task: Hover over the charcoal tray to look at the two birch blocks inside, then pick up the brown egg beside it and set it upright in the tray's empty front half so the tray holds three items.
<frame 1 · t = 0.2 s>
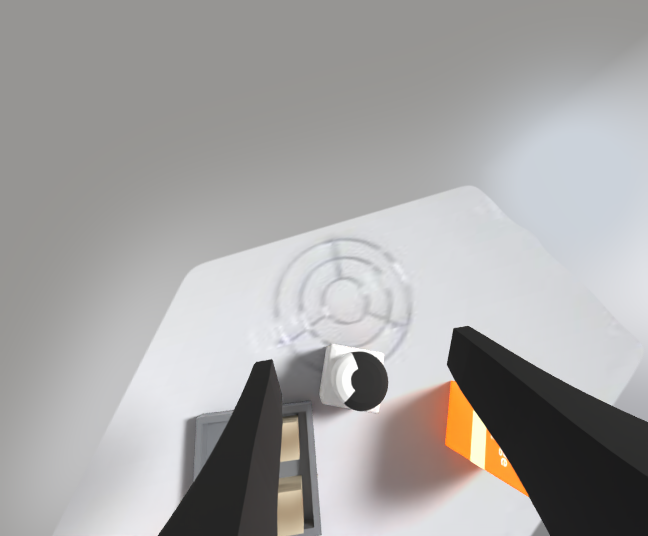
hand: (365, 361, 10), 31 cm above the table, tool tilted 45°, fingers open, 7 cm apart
birch block a: (287, 496, 33), point 1 cm above the table, touching tray
orange juice: (472, 418, 38), on the table
tray: (259, 465, 34), on the table
birch block b: (284, 433, 35), point 1 cm above the table, touching tray
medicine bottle: (345, 374, 39), on the table
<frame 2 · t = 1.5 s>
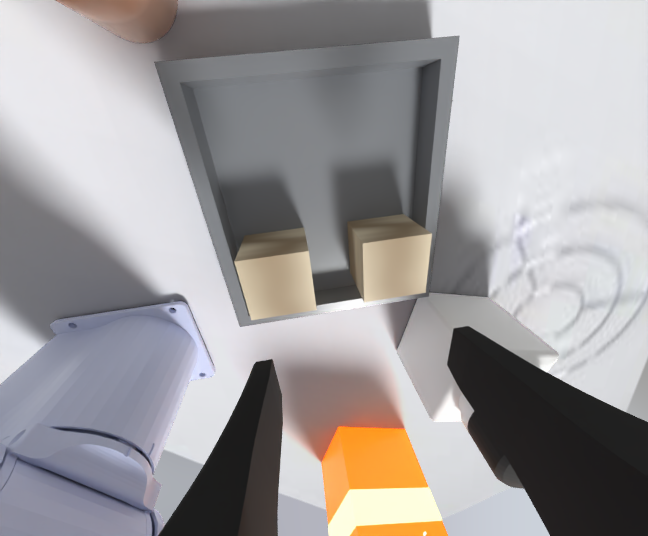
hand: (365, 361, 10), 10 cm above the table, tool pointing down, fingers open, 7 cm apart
birch block a: (279, 257, 18), point 1 cm above the table, touching tray
orange juice: (362, 444, 32), on the table
tray: (322, 200, 17), on the table
birch block b: (375, 244, 19), point 1 cm above the table, touching tray
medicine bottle: (439, 323, 25), on the table
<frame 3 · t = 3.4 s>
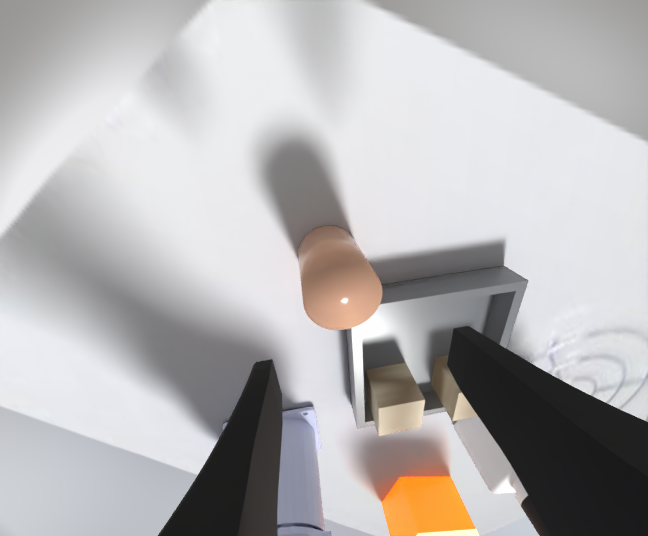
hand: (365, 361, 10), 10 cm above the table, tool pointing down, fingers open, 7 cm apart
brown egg: (327, 253, 19), on the table
birch block a: (385, 379, 26), point 1 cm above the table, touching tray
orange juice: (414, 488, 40), on the table
tray: (418, 344, 25), on the table
birch block b: (451, 367, 27), point 1 cm above the table, touching tray
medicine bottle: (486, 406, 32), on the table
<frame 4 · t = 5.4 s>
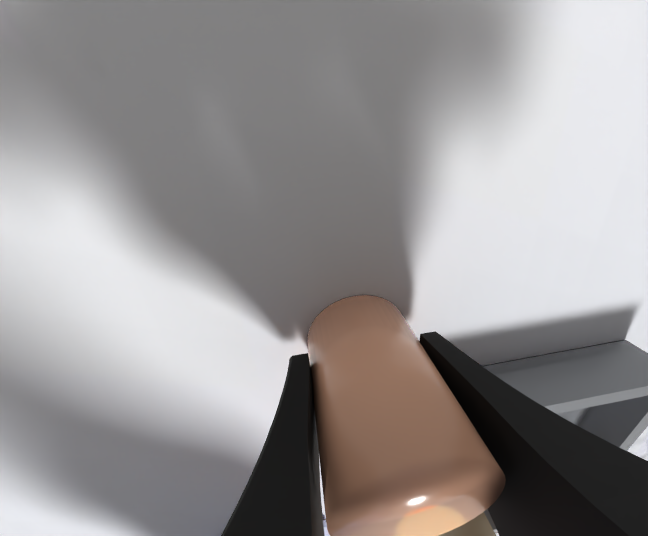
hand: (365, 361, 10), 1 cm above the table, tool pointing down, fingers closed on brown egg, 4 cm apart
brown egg: (356, 336, 11), on the table, touching gripper
birch block a: (429, 487, 18), point 1 cm above the table, touching tray
tray: (479, 441, 17), on the table
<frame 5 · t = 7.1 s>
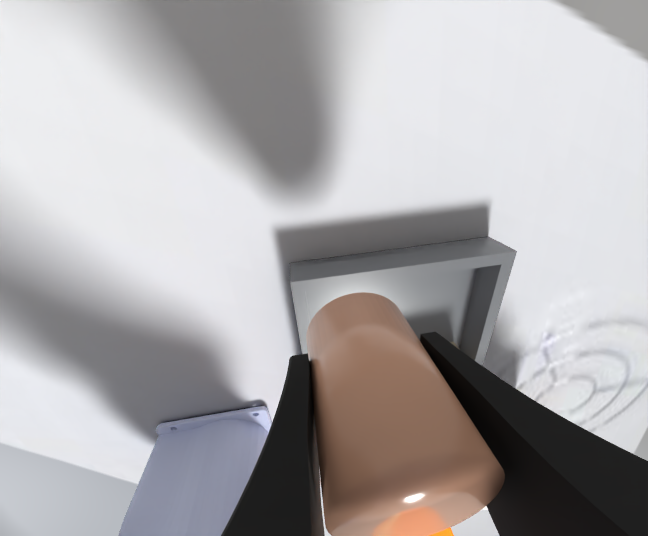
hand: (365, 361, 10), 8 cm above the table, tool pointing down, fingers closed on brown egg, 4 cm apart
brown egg: (355, 334, 11), point 7 cm above the table, touching gripper
orange juice: (393, 497, 36), on the table
tray: (388, 333, 21), on the table
when the fingers open (4 cm above the table, at t = 8.8 s): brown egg drops 2 cm, resting on tray.
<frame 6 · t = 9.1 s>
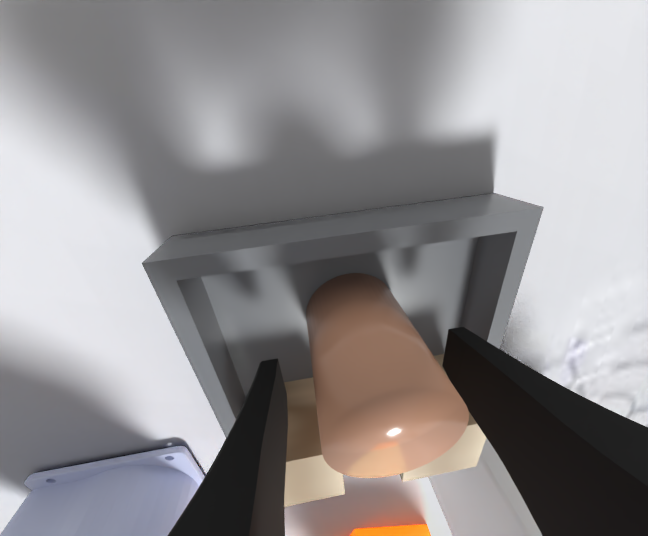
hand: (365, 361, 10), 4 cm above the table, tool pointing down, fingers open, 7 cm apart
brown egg: (350, 312, 13), point 1 cm above the table, touching tray
birch block a: (296, 403, 15), point 1 cm above the table, touching tray
tray: (349, 343, 15), on the table
birch block b: (409, 382, 16), point 1 cm above the table, touching tray
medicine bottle: (473, 436, 22), on the table
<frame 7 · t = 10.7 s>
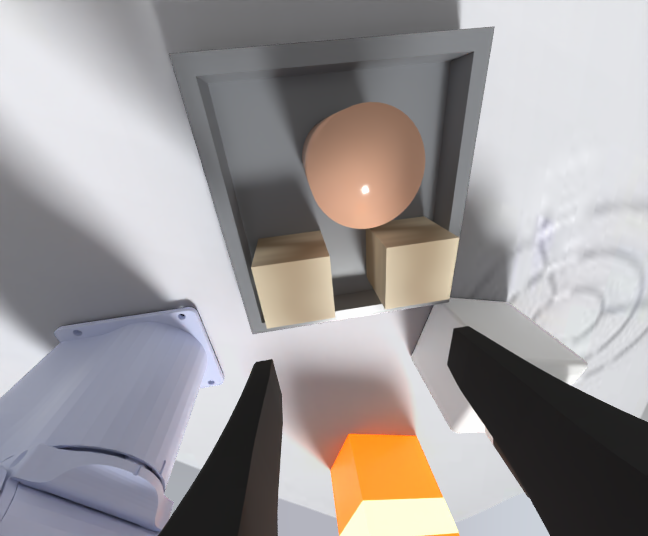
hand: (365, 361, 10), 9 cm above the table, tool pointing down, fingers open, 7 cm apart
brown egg: (340, 158, 15), point 1 cm above the table, touching tray
birch block a: (294, 262, 18), point 1 cm above the table, touching tray
orange juice: (372, 451, 32), on the table
tray: (339, 202, 17), on the table
birch block b: (394, 247, 18), point 1 cm above the table, touching tray
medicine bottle: (455, 328, 24), on the table
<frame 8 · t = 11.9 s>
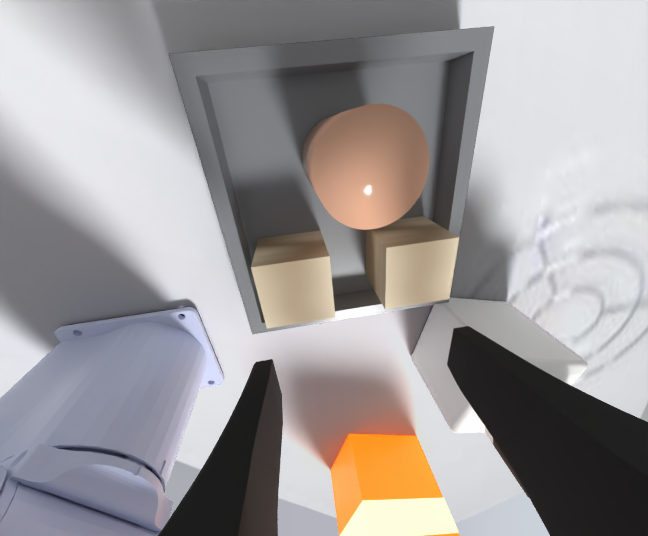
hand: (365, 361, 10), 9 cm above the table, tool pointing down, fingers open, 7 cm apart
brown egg: (340, 158, 15), point 1 cm above the table, touching tray
birch block a: (294, 262, 18), point 1 cm above the table, touching tray
orange juice: (372, 451, 32), on the table
tray: (339, 202, 17), on the table
birch block b: (393, 247, 18), point 1 cm above the table, touching tray
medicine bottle: (455, 328, 24), on the table
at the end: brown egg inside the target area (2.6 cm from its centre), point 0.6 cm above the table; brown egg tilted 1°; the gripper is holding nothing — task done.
